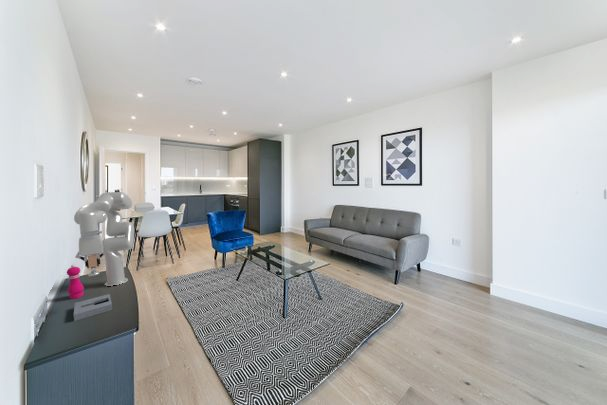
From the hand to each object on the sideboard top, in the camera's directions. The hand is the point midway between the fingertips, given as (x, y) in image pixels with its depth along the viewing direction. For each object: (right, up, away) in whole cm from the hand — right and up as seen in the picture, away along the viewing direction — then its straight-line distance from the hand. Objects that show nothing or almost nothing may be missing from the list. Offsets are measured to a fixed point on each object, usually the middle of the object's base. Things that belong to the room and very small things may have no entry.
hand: (93, 266), depth 137 cm
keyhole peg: (0, -5, 0) cm, 5 cm away
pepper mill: (-21, -22, +13) cm, 33 cm away
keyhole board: (+4, -22, -4) cm, 23 cm away
